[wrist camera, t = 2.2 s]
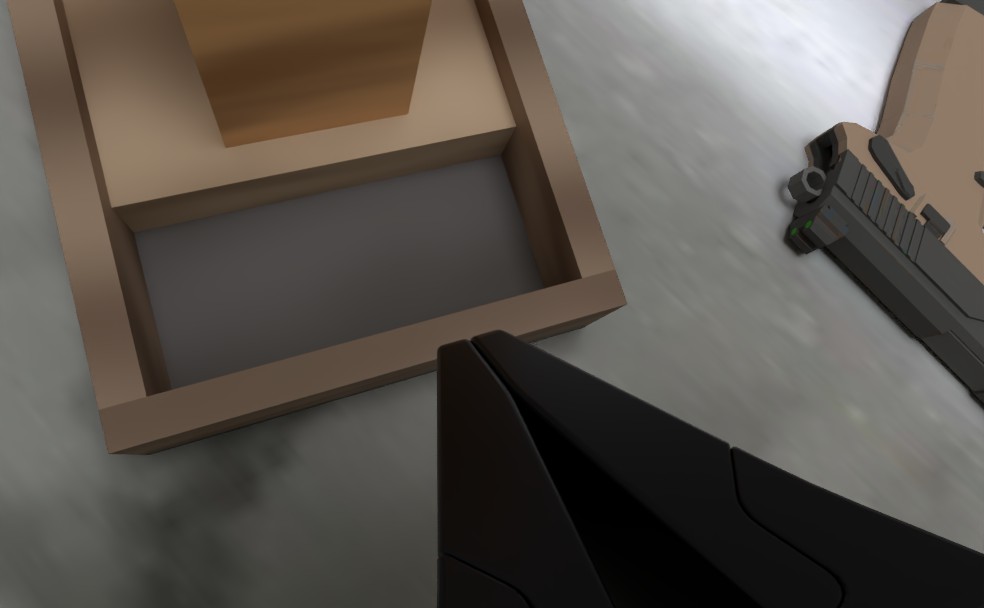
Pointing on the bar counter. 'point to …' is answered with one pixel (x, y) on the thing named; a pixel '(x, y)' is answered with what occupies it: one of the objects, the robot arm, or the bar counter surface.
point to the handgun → (913, 190)
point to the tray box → (300, 220)
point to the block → (304, 62)
